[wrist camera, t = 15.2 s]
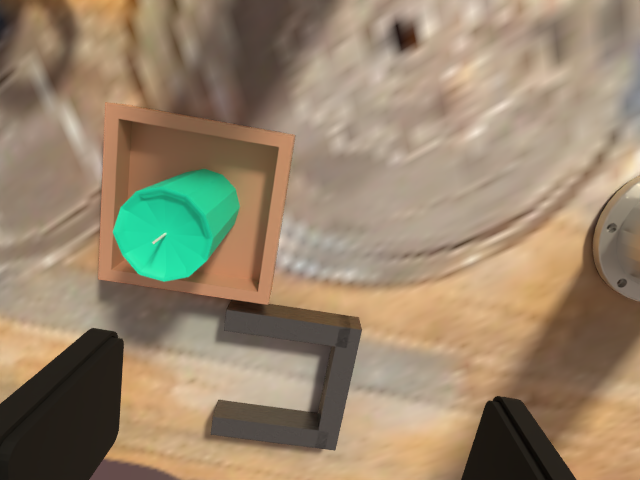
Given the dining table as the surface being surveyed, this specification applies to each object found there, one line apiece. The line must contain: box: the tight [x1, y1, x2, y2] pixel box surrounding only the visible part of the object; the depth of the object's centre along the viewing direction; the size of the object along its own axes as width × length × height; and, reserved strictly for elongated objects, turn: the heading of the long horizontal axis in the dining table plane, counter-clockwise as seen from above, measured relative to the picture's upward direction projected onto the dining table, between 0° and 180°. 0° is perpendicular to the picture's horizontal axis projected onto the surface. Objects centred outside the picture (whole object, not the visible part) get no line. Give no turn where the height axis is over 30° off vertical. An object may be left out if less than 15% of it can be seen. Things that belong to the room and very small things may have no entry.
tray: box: [98, 102, 296, 305], centre depth 35 cm, size 14×14×4 cm
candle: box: [113, 169, 240, 282], centre depth 30 cm, size 6×6×12 cm
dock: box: [211, 299, 362, 450], centre depth 40 cm, size 12×13×2 cm
